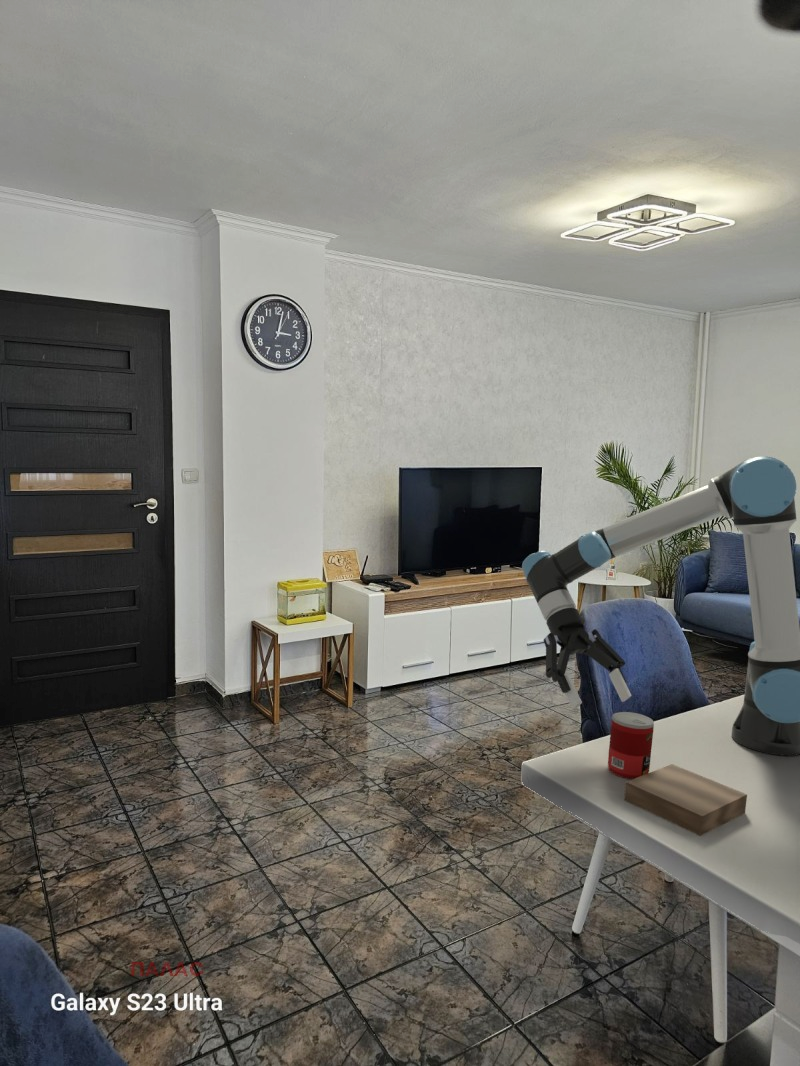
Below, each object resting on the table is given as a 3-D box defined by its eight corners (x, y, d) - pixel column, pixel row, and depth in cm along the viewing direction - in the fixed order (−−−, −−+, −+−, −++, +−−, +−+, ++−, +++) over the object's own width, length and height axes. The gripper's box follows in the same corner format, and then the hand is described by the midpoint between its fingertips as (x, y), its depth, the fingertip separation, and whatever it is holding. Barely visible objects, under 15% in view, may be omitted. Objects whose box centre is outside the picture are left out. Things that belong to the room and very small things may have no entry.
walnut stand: (670, 781, 147) (671, 764, 146) (745, 812, 135) (747, 794, 135) (624, 800, 137) (625, 781, 137) (700, 836, 126) (702, 816, 125)
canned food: (651, 782, 146) (656, 727, 144) (608, 776, 147) (613, 722, 146) (646, 766, 153) (651, 714, 152) (606, 761, 155) (610, 709, 153)
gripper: (594, 620, 175) (636, 703, 164) (507, 627, 164) (545, 717, 152) (612, 603, 170) (657, 688, 159) (524, 608, 158) (565, 700, 147)
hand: (602, 702), depth 155 cm, fingers open, 13 cm apart
